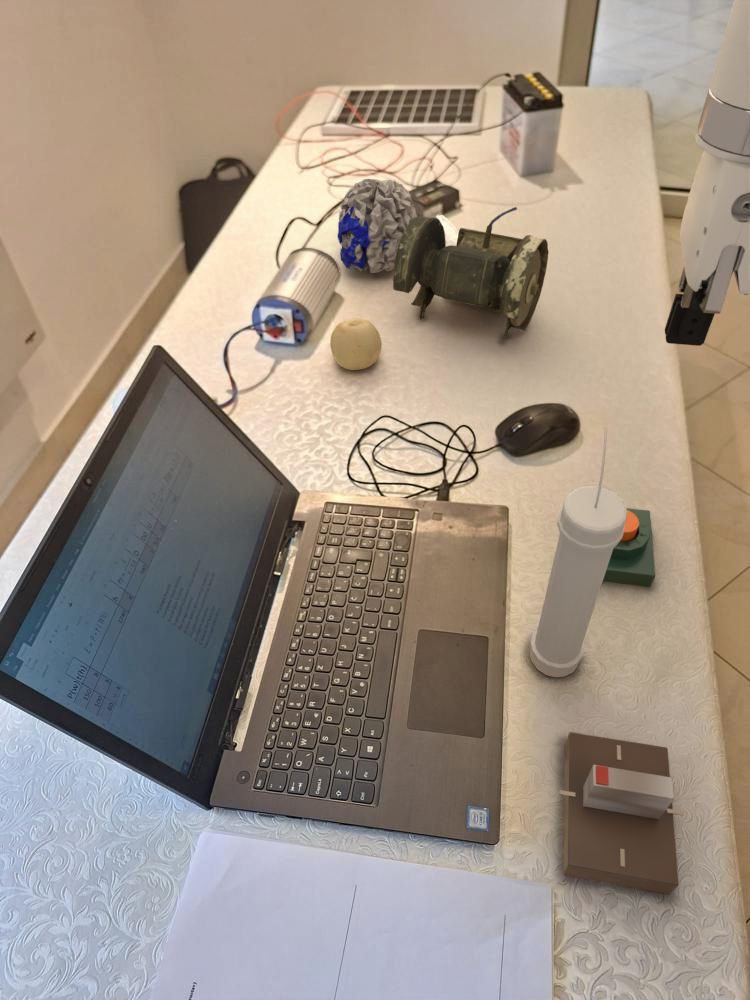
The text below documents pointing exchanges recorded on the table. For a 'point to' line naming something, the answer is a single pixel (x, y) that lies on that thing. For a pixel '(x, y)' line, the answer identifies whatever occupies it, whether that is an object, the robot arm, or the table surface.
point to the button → (630, 527)
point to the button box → (634, 556)
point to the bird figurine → (449, 231)
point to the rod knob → (627, 792)
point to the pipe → (577, 575)
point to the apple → (355, 344)
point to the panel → (616, 820)
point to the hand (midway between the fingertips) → (683, 338)
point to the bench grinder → (472, 269)
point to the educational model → (373, 224)
